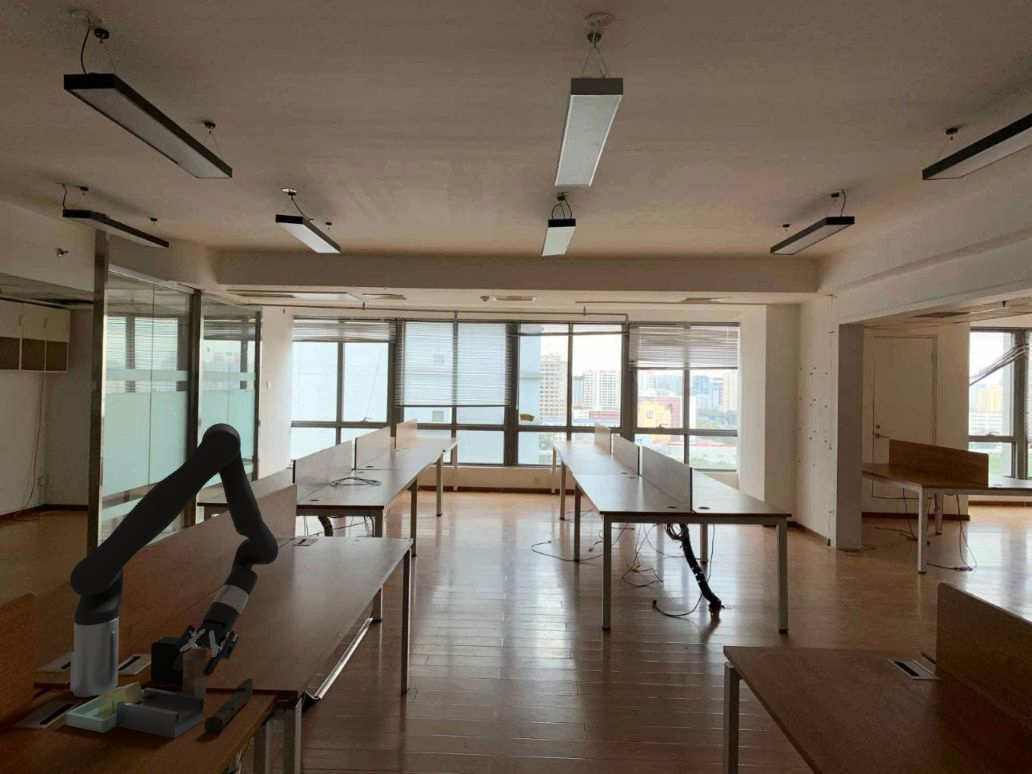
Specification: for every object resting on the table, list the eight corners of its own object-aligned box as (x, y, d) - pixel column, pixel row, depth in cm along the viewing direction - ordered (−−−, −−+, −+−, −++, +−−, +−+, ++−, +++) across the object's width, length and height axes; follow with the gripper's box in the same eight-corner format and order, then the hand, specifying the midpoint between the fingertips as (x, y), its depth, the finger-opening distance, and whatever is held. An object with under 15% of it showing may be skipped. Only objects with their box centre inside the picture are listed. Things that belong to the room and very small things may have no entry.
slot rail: (116, 726, 142) (116, 703, 142) (146, 709, 150) (147, 687, 150) (174, 738, 137) (175, 714, 137) (203, 720, 145) (203, 697, 145)
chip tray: (65, 724, 142) (65, 713, 142) (120, 696, 156) (120, 685, 156) (103, 733, 139) (104, 721, 139) (157, 703, 152) (157, 692, 152)
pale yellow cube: (115, 710, 145) (111, 692, 145) (130, 702, 148) (126, 685, 149) (128, 706, 144) (124, 689, 144) (143, 698, 147) (139, 681, 148)
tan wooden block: (177, 705, 151) (178, 654, 151) (193, 696, 156) (194, 646, 156) (192, 708, 150) (193, 656, 150) (207, 699, 155) (208, 648, 155)
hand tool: (221, 736, 139) (222, 714, 139) (203, 735, 139) (204, 713, 139) (262, 695, 158) (263, 676, 158) (246, 694, 158) (247, 675, 158)
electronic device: (185, 685, 162) (186, 645, 162) (150, 681, 164) (151, 642, 164) (196, 678, 166) (197, 639, 166) (162, 674, 168) (163, 636, 168)
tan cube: (112, 716, 145) (98, 713, 146) (127, 708, 149) (113, 705, 150) (112, 698, 145) (98, 695, 146) (127, 690, 149) (114, 688, 150)
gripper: (195, 597, 162) (157, 661, 151) (243, 603, 158) (207, 669, 147) (210, 612, 167) (175, 674, 156) (257, 618, 163) (223, 683, 152)
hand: (190, 672), depth 152 cm, fingers open, 8 cm apart
